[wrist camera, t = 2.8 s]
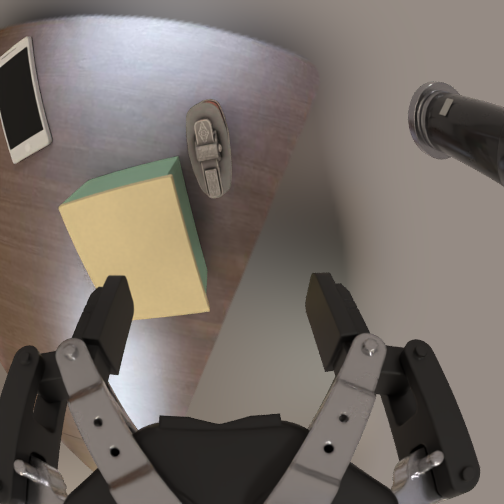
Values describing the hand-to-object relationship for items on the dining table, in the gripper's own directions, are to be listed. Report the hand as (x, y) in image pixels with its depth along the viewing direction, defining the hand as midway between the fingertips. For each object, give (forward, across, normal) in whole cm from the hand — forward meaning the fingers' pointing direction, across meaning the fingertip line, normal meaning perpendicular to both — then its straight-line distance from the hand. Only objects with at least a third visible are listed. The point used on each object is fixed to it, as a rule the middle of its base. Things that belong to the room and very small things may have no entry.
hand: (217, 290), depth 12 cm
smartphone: (+21, +25, -11) cm, 35 cm away
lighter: (+21, +1, -3) cm, 21 cm away
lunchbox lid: (+14, +9, +8) cm, 18 cm away
